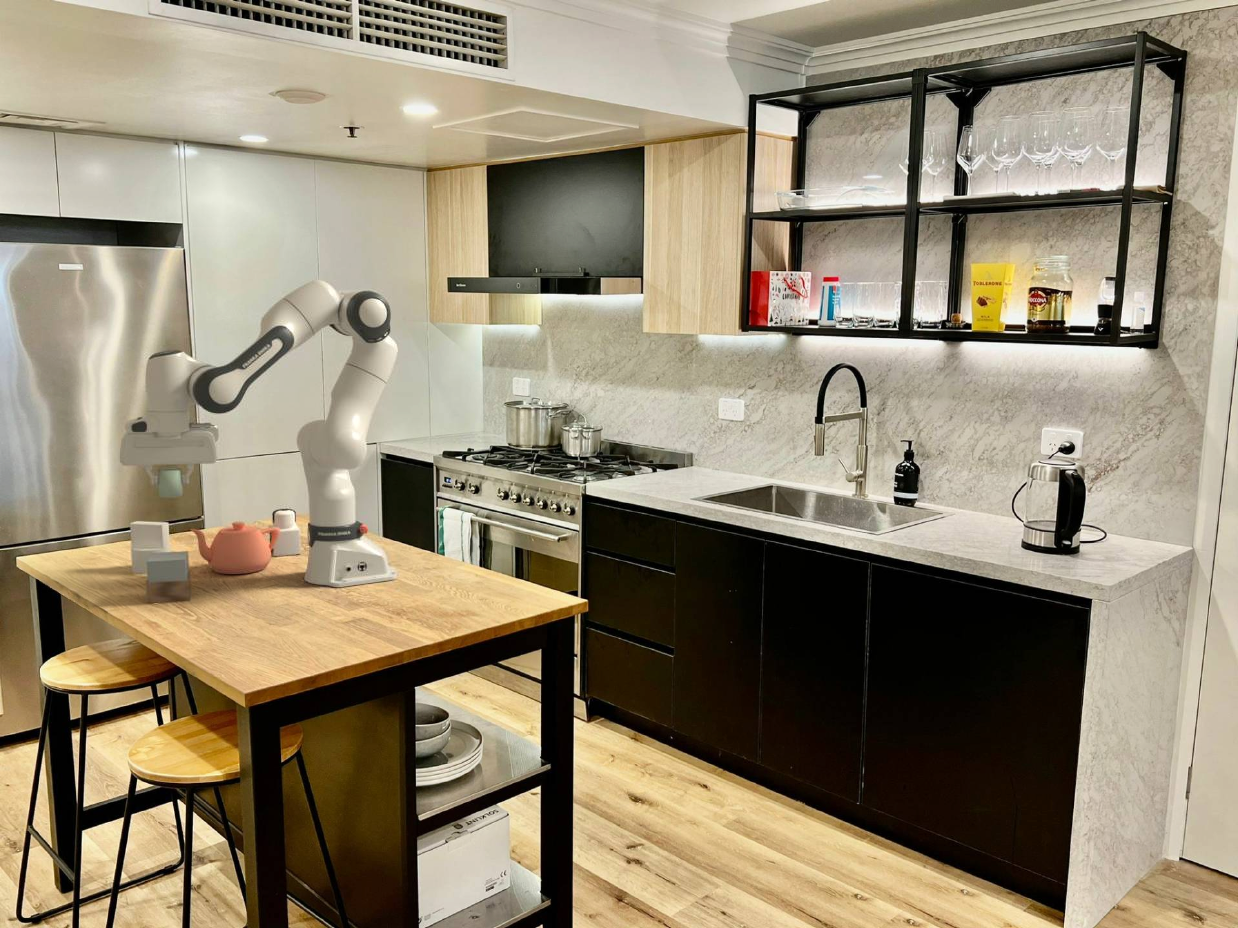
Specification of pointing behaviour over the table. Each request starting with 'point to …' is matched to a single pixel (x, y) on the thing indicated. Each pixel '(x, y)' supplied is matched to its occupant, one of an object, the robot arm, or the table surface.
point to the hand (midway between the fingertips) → (170, 484)
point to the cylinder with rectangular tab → (147, 542)
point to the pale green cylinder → (170, 482)
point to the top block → (167, 567)
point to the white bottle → (286, 533)
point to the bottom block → (168, 591)
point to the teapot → (238, 548)
